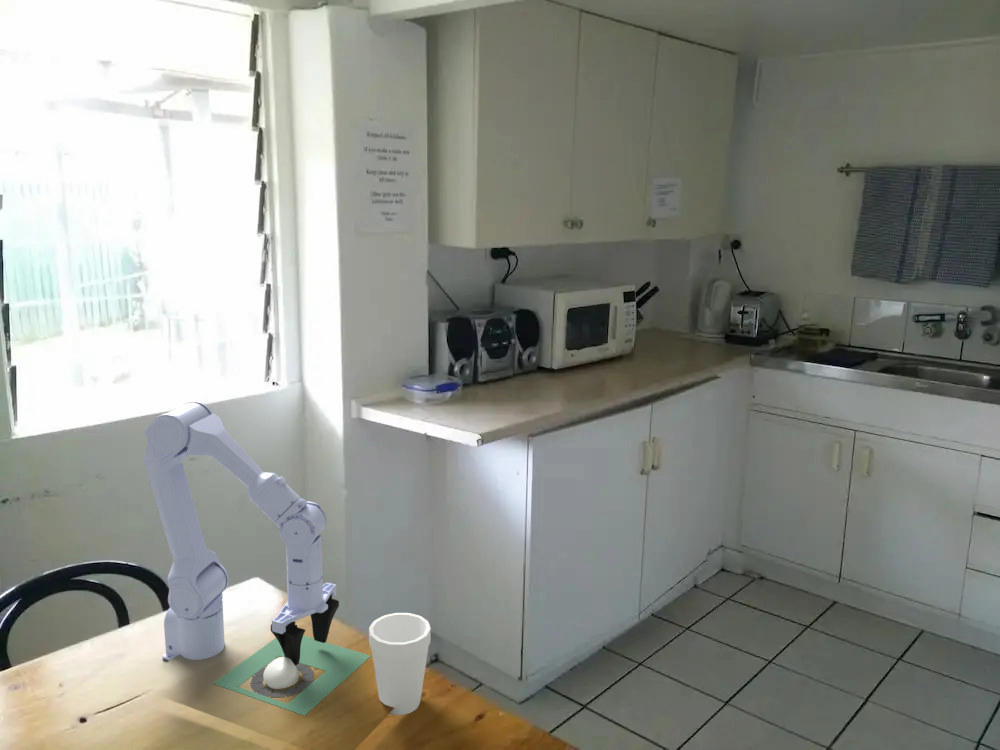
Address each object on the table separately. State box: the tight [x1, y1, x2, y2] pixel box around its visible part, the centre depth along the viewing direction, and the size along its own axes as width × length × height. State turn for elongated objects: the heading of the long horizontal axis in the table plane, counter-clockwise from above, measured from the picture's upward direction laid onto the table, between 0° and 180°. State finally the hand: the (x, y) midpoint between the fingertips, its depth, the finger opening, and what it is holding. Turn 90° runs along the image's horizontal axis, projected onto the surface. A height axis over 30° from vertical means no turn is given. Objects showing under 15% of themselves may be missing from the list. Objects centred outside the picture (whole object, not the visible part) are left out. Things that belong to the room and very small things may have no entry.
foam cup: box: [368, 612, 432, 716], centre depth 125 cm, size 10×9×13 cm
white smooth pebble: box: [263, 656, 300, 690], centre depth 129 cm, size 5×5×2 cm
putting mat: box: [212, 635, 372, 717], centre depth 132 cm, size 18×18×2 cm
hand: (306, 651), depth 135 cm, fingers open, 7 cm apart
